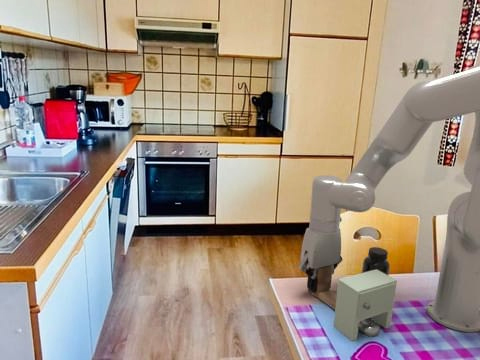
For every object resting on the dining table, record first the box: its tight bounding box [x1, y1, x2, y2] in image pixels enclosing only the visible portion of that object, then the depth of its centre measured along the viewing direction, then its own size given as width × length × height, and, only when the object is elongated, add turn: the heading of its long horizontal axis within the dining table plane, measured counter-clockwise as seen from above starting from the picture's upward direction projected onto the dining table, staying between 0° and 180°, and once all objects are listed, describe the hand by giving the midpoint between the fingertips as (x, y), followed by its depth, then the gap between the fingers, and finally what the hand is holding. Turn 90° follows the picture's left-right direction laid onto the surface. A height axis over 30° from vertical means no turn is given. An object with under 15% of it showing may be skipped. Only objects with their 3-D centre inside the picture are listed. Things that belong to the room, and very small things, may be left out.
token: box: [358, 318, 380, 338], centre depth 89 cm, size 4×4×2 cm
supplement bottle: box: [361, 246, 391, 276], centre depth 106 cm, size 7×7×12 cm
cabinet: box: [333, 269, 398, 342], centre depth 89 cm, size 12×7×12 cm, turn 118°
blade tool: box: [307, 265, 337, 311], centre depth 100 cm, size 4×14×8 cm, turn 28°
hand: (318, 287), depth 105 cm, fingers closed on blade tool, 4 cm apart
